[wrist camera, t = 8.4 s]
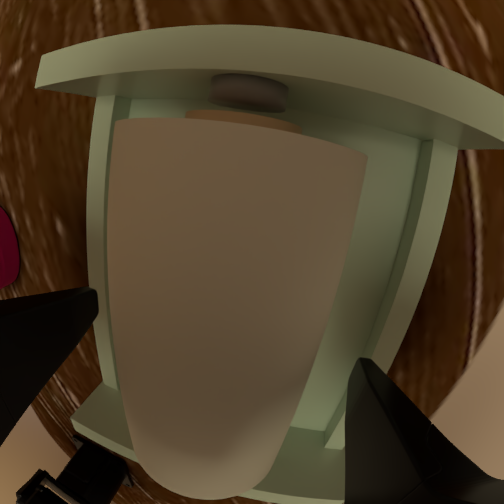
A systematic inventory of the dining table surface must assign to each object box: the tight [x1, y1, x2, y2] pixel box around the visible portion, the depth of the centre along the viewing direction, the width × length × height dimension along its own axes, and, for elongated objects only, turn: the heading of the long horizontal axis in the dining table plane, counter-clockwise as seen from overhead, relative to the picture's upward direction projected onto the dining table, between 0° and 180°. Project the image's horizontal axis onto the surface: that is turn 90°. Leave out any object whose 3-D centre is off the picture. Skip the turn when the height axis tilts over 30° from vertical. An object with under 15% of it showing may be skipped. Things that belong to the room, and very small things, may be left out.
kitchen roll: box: [107, 110, 368, 500], centre depth 9 cm, size 13×6×6 cm, turn 171°
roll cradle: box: [35, 25, 504, 504], centre depth 11 cm, size 18×14×6 cm
